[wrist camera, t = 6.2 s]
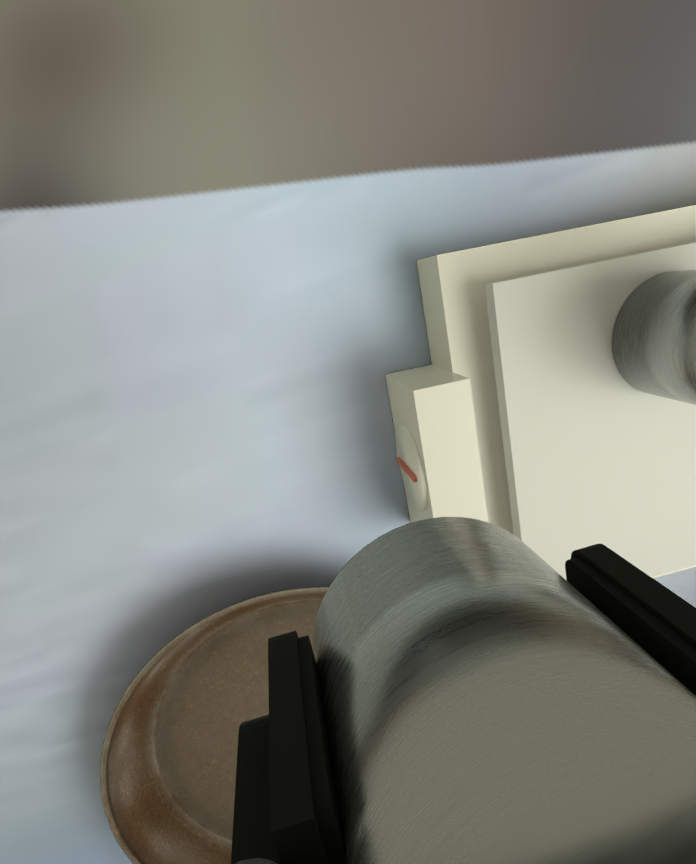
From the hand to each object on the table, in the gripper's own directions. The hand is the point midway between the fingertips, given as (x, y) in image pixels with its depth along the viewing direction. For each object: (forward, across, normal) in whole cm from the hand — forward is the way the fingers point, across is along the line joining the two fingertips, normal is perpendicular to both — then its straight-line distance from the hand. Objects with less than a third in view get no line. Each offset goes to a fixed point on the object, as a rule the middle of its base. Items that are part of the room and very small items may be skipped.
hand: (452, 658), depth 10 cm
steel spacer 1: (+1, 0, 0) cm, 1 cm away
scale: (+17, -13, +1) cm, 21 cm away
